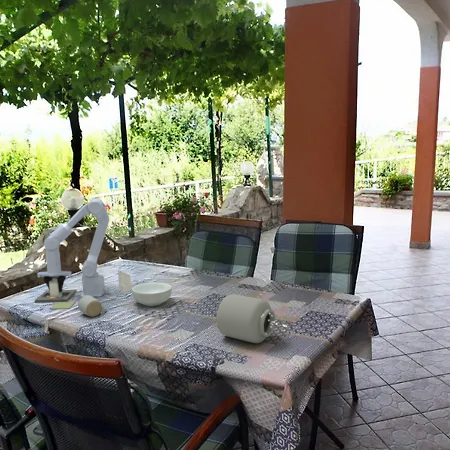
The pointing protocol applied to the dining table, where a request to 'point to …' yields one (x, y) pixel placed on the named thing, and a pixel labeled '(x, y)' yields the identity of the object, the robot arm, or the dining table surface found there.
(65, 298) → the grey square frame
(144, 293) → the cereal bowl
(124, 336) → the dining table surface
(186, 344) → the dining table surface
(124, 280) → the white wedge bracket
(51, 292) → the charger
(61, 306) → the rubber mat
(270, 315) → the jar
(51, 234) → the robot arm
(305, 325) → the dining table surface
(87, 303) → the ceramic mug
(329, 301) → the dining table surface
